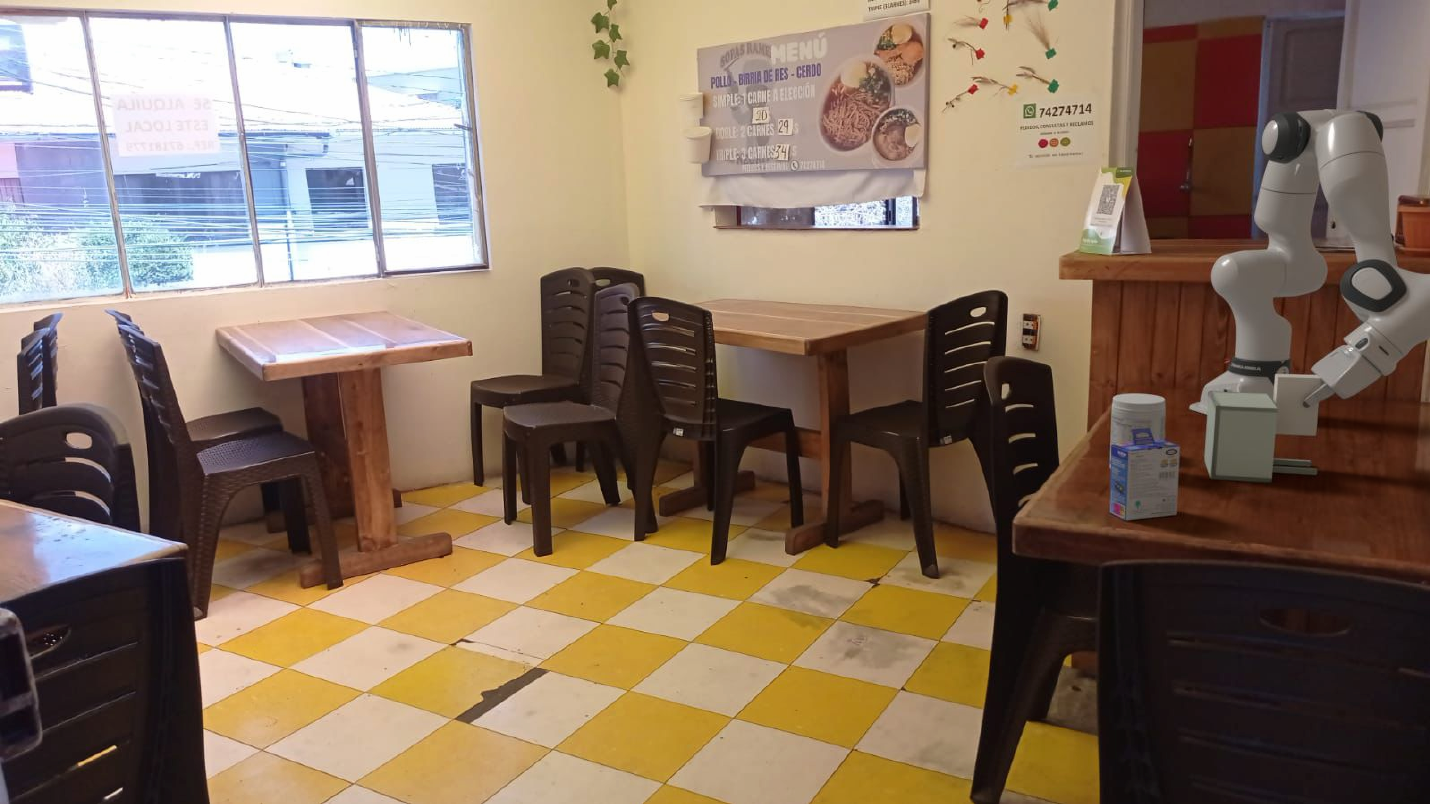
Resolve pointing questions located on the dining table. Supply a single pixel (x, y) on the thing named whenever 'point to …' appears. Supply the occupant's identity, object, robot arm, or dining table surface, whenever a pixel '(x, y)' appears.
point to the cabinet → (1244, 438)
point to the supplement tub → (1136, 417)
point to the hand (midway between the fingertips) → (1304, 400)
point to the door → (1295, 404)
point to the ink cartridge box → (1144, 477)
